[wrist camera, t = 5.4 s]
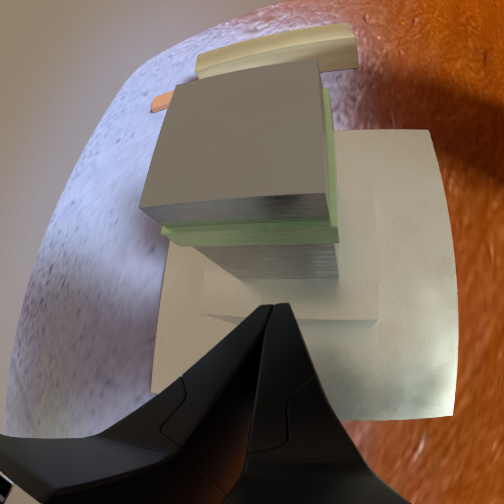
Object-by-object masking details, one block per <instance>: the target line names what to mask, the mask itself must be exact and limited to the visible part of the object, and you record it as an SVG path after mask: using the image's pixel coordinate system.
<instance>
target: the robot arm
mask: <svg viewBox="0 0 504 504" xmlns="http://www.w3.org/2000/svg"><path fill="white" fill-rule="evenodd" d="M0 471H1V472H2V473H3V474H4V475H5V476H6V477H8V478H9V479H10V480H11V481H12V482H13V484H11V483H10V482H9V481H8V480H6V479H5V478H4V477H2V476H1V475H0V504H412V503H410V502H409V501H408V500H406V499H405V498H404V497H403V496H401V495H400V494H399V493H398V492H396V491H395V490H394V489H393V488H392V487H390V486H389V485H388V484H387V483H385V482H384V481H383V480H382V479H381V478H379V477H378V476H377V475H376V474H375V473H374V471H373V470H372V469H371V468H370V467H369V465H368V464H367V462H366V461H365V460H364V458H363V457H362V455H361V454H360V452H359V451H358V449H357V447H356V446H355V444H354V443H353V441H352V439H351V438H350V436H349V435H348V433H347V431H346V430H345V428H344V427H343V425H342V423H341V422H340V420H339V419H338V417H337V415H336V413H335V411H334V410H333V408H332V406H331V404H330V402H329V400H328V398H327V396H326V393H325V391H324V389H323V386H322V384H321V381H320V379H319V377H318V374H317V371H316V369H315V366H314V364H313V361H312V359H311V356H310V353H309V351H308V348H307V346H306V343H305V341H304V338H303V336H302V333H301V331H300V328H299V325H298V323H297V320H296V318H295V315H294V313H293V310H292V308H291V305H290V303H277V304H275V305H274V304H264V305H260V306H258V307H257V308H256V309H255V310H254V311H253V312H252V313H251V314H250V315H248V316H247V317H246V318H245V319H244V320H243V321H242V322H241V323H240V324H239V325H237V326H236V327H235V328H234V329H233V330H232V331H231V332H230V333H229V334H227V335H226V336H225V337H224V338H223V339H222V340H221V341H220V342H219V343H217V344H216V345H215V346H214V347H213V348H212V349H211V350H210V351H208V352H207V353H206V354H205V355H204V356H203V357H202V358H200V359H199V360H198V361H197V362H196V363H195V364H194V365H192V366H191V367H190V368H189V369H188V370H187V371H186V372H184V373H183V374H182V376H180V377H178V378H177V379H176V380H175V381H174V382H173V383H171V384H170V385H169V386H168V387H166V388H165V389H164V390H163V391H161V392H160V393H159V394H158V395H156V396H155V397H154V398H152V399H151V400H149V401H148V402H147V403H145V404H144V405H143V406H141V407H140V408H138V409H137V410H135V411H134V412H132V413H131V414H129V415H128V416H126V417H125V418H123V419H122V420H120V421H119V422H117V423H116V424H114V425H112V426H111V427H109V428H108V429H106V430H104V431H103V432H101V433H99V434H96V435H93V436H90V437H85V438H66V439H41V438H17V437H9V436H5V435H1V434H0Z"/></svg>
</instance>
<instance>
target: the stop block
mask: <svg viewBox="0 0 504 504" xmlns="http://www.w3.org/2000/svg"><path fill="white" fill-rule="evenodd" d="M313 59H317V62H318V67H319V72H327V71H335V70H343V69H351V68H359V63H358V53H357V44H356V37H355V35H354V33H353V31H352V30H351V28H350V26H349V24H348V23H339V24H331V25H323V26H316V27H309V28H303V29H297V30H291V31H286V32H281V33H276V34H272V35H267V36H263V37H258V38H254V39H250V40H246V41H242V42H239V43H235V44H231V45H228V46H225V47H221V48H218V49H215V50H211V51H208V52H205V53H202V54H199V55H198V57H197V62H196V67H195V72H196V74H197V76H198V77H199V79H202V78H206V77H211V76H215V75H219V74H224V73H228V72H233V71H238V70H243V69H249V68H254V67H260V66H266V65H272V64H279V63H286V62H294V61H303V60H313Z"/></svg>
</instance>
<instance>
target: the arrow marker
mask: <svg viewBox="0 0 504 504" xmlns="http://www.w3.org/2000/svg"><path fill="white" fill-rule="evenodd" d="M198 79H199V78H198ZM198 79H197V80H198ZM173 93H174V90H173V91H170V92H168V93H165V94H162V95H160V96H157V97H155V98H154V100H153V103H152V107H151V110H152V111H153V113H155V112H157V111H160V110H163V109H166V108H168V107H169V104H170V101H171V98H172V95H173Z"/></svg>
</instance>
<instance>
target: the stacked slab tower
mask: <svg viewBox="0 0 504 504" xmlns="http://www.w3.org/2000/svg"><path fill="white" fill-rule="evenodd" d="M139 208H140V209H141V210H142V211H144V212H145V213H146V214H148V215H149V216H151V217H152V218H153V219H155V220H156V221H157V222H159V223H160V224H161V225H162V229H161V235H163V236H164V237H166V238H167V239H169V240H170V242H169V248H168V254H167V260H166V266H165V273H164V279H163V286H162V293H161V300H160V308H159V315H158V323H157V332H156V341H155V350H154V360H153V371H152V383H151V392H152V393H156V394H159V393H160V392H161V391H163V390H164V389H165V388H166V387H168V386H169V385H170V384H171V383H173V382H174V381H175V380H176V379H177V378H178V377H180V376H182V374H183V373H184V372H186V371H187V370H188V369H189V368H190V367H191V366H192V365H194V364H195V363H196V362H197V361H198V360H199V359H200V358H202V357H203V356H204V355H205V354H206V353H207V352H208V351H210V350H211V349H212V348H213V347H214V346H215V345H216V344H217V343H219V342H220V341H221V340H222V339H223V338H224V337H225V336H226V335H227V334H229V333H230V332H231V331H232V330H233V329H234V328H235V327H236V326H237V325H239V324H240V323H241V322H242V321H243V320H244V319H245V318H246V317H247V316H248V315H250V314H251V313H252V312H253V311H254V310H255V309H256V308H257V307H258V306H260V305H264V304H274V305H275V304H277V303H290V305H291V308H292V310H293V313H294V315H295V318H296V320H297V323H298V325H299V328H300V331H301V333H302V336H303V338H304V341H305V343H306V346H307V348H308V351H309V353H310V356H311V359H312V361H313V364H314V366H315V369H316V371H317V374H318V377H319V379H320V381H321V384H322V386H323V389H324V391H325V393H326V396H327V398H328V400H329V402H330V404H331V406H332V408H333V410H334V411H335V413H336V415H337V417H338V419H339V420H403V419H419V418H432V417H442V416H451V415H453V407H454V398H455V388H456V376H457V360H458V297H457V280H456V268H455V258H454V249H453V241H452V233H451V226H450V220H449V214H448V208H447V203H446V197H445V192H444V188H443V183H442V178H441V174H440V170H439V166H438V162H437V158H436V154H435V150H434V146H433V143H432V139H431V136H430V132H429V130H409V129H376V130H344V131H334V126H333V115H332V107H331V101H330V95H329V89H328V88H323V87H322V82H321V77H320V72H319V67H318V62H317V59H313V60H303V61H294V62H286V63H279V64H272V65H266V66H260V67H254V68H249V69H243V70H238V71H233V72H228V73H224V74H219V75H215V76H211V77H206V78H202V79H198V80H195V81H191V82H187V83H183V84H180V85H176V87H175V90H174V93H173V95H172V98H171V101H170V104H169V107H168V110H167V112H166V115H165V118H164V121H163V124H162V127H161V131H160V134H159V137H158V140H157V143H156V147H155V150H154V153H153V157H152V160H151V163H150V167H149V171H148V174H147V178H146V182H145V185H144V189H143V193H142V197H141V201H140V205H139Z"/></svg>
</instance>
